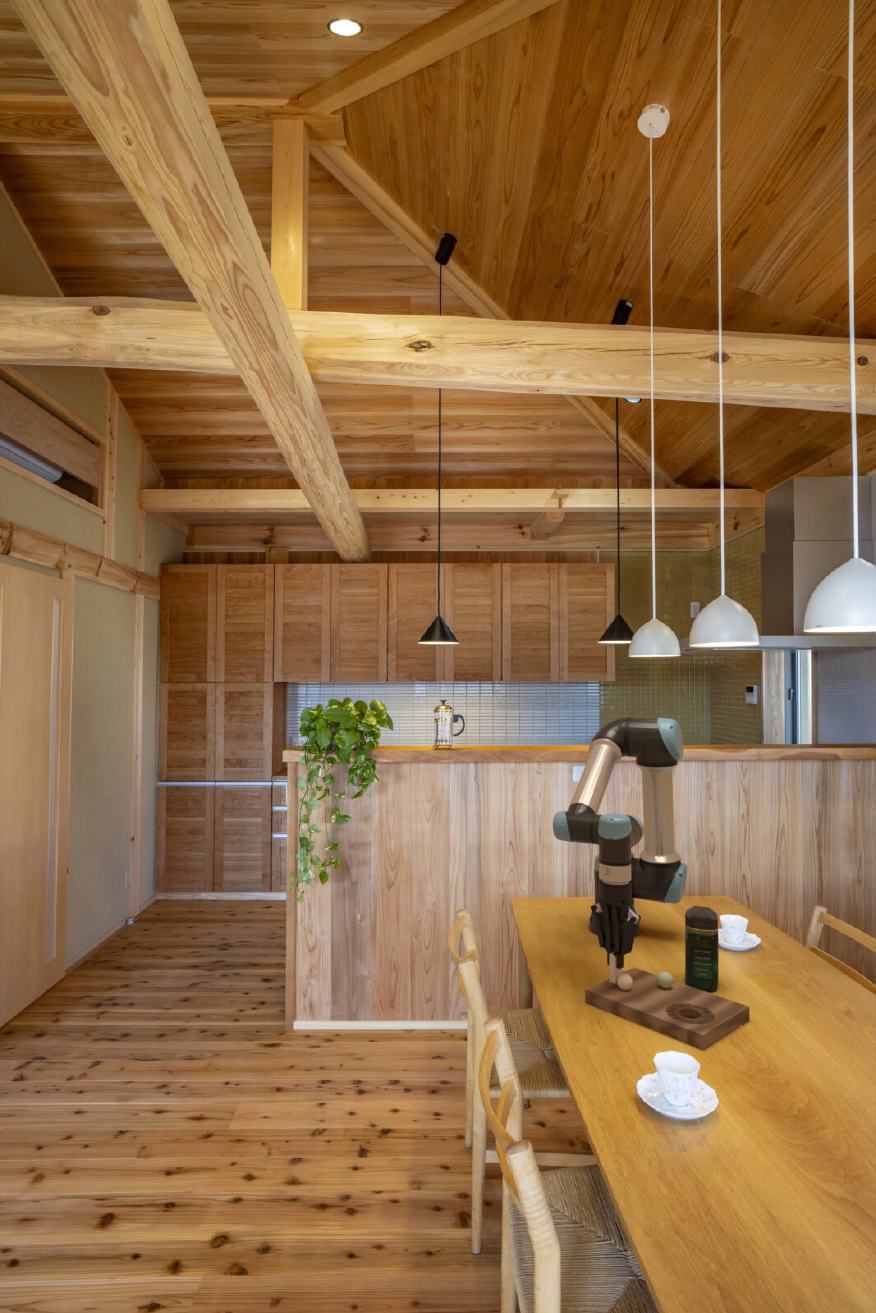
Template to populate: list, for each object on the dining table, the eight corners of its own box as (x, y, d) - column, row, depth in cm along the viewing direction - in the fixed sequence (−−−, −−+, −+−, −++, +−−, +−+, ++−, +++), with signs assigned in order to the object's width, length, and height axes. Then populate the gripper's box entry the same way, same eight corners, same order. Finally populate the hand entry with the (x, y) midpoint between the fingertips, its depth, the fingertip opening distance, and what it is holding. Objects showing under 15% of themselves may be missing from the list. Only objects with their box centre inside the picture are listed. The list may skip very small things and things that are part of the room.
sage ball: (654, 987, 178) (654, 971, 178) (662, 983, 180) (662, 968, 180) (667, 992, 175) (667, 976, 175) (676, 987, 177) (676, 972, 177)
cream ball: (613, 987, 177) (615, 973, 176) (622, 983, 179) (624, 969, 179) (626, 994, 174) (627, 980, 174) (635, 990, 176) (636, 975, 176)
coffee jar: (719, 994, 181) (718, 916, 181) (684, 989, 183) (684, 913, 184) (718, 978, 190) (717, 905, 190) (685, 974, 192) (684, 902, 193)
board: (585, 1002, 176) (584, 989, 176) (634, 979, 190) (633, 967, 190) (703, 1049, 154) (703, 1035, 154) (749, 1020, 167) (749, 1006, 167)
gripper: (583, 877, 181) (583, 976, 181) (628, 889, 171) (629, 993, 171) (602, 872, 186) (602, 968, 186) (647, 883, 176) (648, 984, 176)
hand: (615, 980), depth 178 cm, fingers closed
